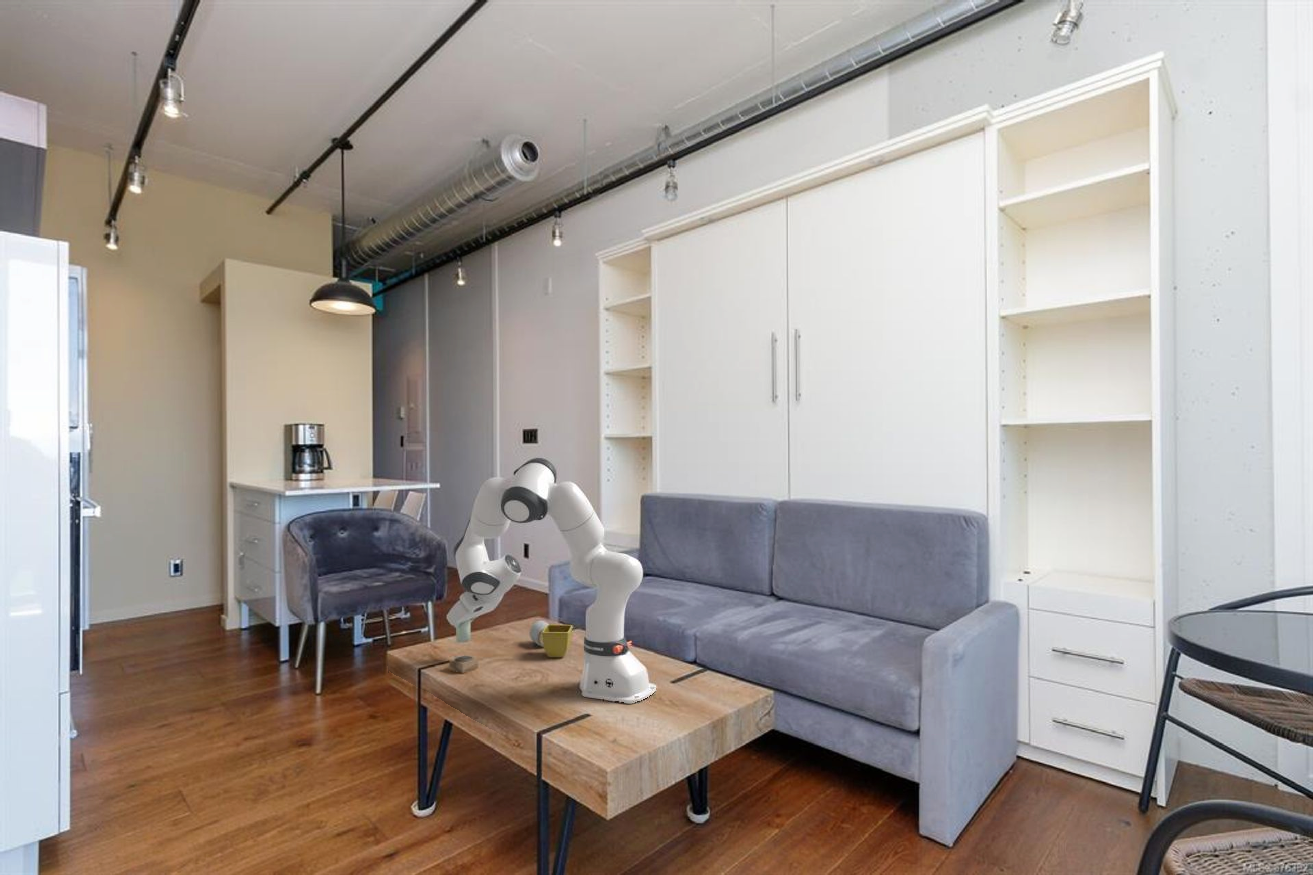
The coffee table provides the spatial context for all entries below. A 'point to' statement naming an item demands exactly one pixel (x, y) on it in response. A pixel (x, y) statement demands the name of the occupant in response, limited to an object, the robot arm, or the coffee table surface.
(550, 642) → the flower pot
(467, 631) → the column
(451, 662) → the base
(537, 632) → the ceramic mug
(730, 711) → the coffee table surface
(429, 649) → the coffee table surface
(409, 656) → the coffee table surface
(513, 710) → the coffee table surface
